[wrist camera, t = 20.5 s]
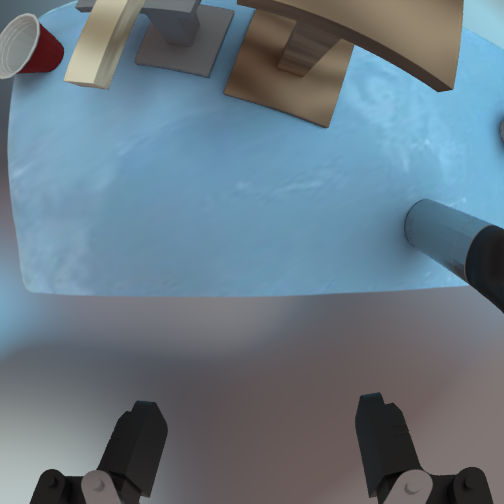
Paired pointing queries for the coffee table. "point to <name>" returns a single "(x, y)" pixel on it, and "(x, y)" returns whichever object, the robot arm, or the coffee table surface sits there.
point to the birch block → (102, 43)
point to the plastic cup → (28, 47)
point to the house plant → (502, 130)
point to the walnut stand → (340, 49)
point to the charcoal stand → (180, 34)
